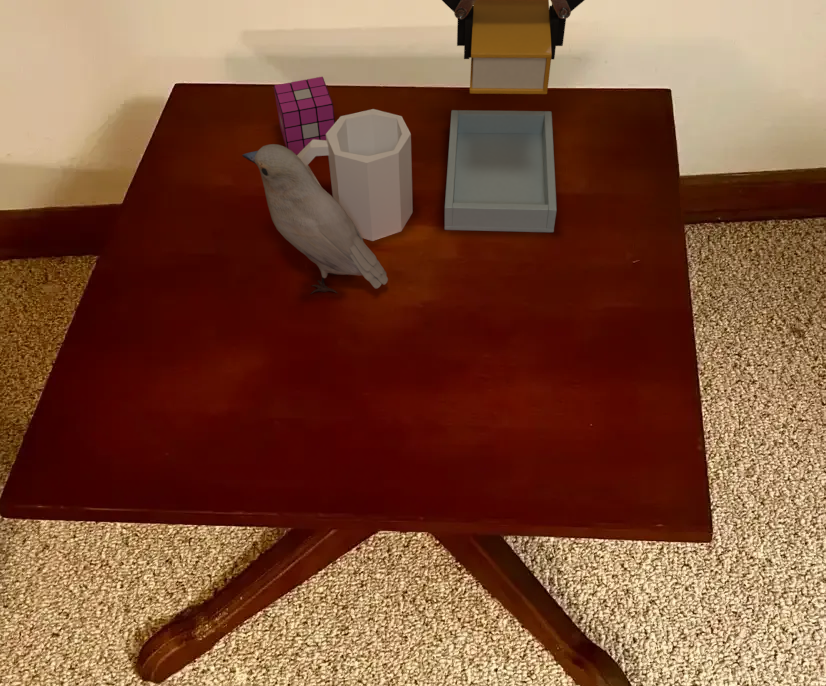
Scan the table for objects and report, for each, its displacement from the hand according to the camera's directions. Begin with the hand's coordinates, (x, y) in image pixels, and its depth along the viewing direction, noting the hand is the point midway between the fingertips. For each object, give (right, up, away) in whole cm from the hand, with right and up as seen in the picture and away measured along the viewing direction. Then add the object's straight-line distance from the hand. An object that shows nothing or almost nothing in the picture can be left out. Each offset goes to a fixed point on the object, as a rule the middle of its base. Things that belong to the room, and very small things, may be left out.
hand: (508, 50), depth 83 cm
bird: (-18, -21, +4) cm, 28 cm away
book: (0, -1, +1) cm, 1 cm away
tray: (+1, -10, +12) cm, 15 cm away
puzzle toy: (-20, -3, +19) cm, 28 cm away
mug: (-15, -14, +10) cm, 22 cm away
